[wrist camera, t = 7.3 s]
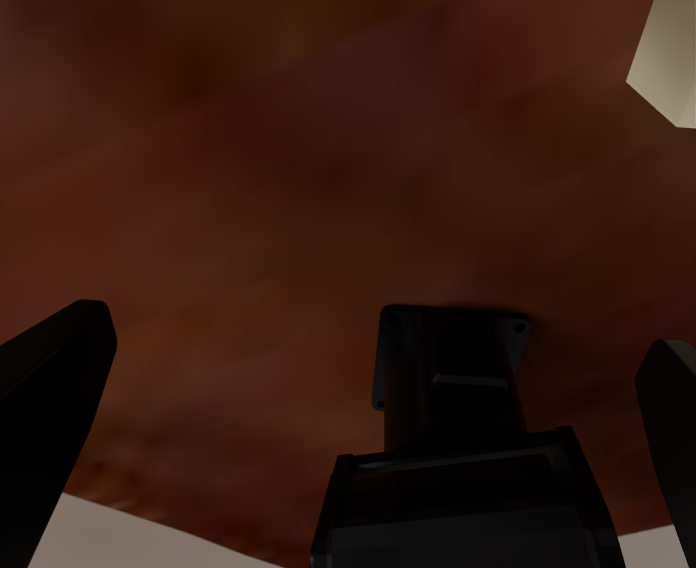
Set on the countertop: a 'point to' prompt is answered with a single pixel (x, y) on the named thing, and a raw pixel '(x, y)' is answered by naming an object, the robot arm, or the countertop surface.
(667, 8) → the birch block
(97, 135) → the countertop surface
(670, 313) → the countertop surface
